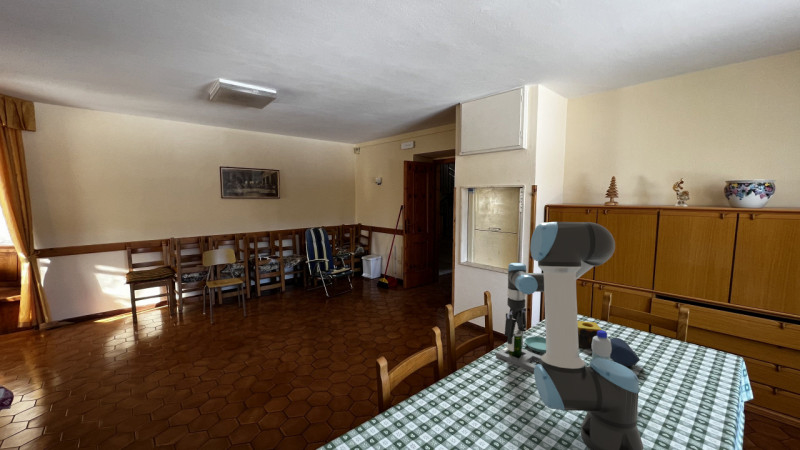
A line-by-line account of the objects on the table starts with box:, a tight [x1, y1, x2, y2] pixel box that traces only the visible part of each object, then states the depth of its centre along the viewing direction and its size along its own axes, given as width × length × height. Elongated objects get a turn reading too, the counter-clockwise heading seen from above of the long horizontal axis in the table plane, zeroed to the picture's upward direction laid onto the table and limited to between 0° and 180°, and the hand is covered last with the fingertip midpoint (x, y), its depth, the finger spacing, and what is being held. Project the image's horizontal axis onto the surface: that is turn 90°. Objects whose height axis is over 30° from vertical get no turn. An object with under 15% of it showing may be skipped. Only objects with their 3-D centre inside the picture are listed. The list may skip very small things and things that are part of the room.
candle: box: [577, 320, 602, 350], centre depth 155 cm, size 10×10×10 cm
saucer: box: [524, 336, 546, 354], centre depth 152 cm, size 15×15×3 cm
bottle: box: [591, 329, 612, 361], centre depth 123 cm, size 7×7×20 cm
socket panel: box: [495, 345, 542, 373], centre depth 139 cm, size 12×22×2 cm, turn 41°
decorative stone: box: [609, 337, 641, 367], centre depth 136 cm, size 12×12×10 cm
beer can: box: [509, 329, 523, 358], centre depth 142 cm, size 5×5×12 cm
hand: (515, 347), depth 142 cm, fingers open, 7 cm apart
